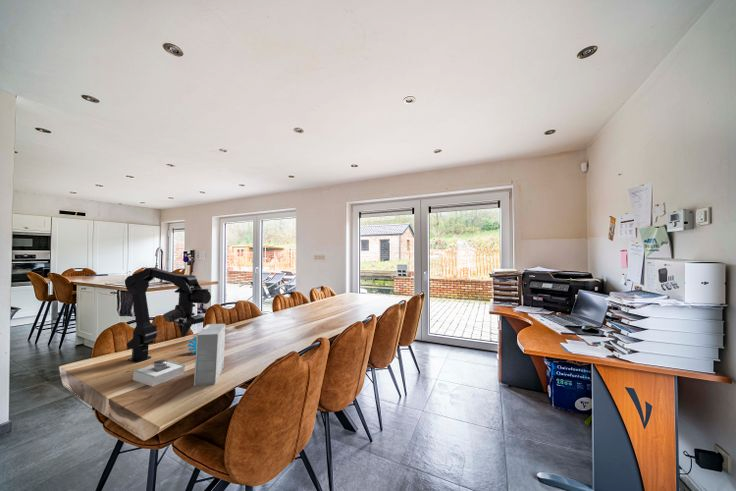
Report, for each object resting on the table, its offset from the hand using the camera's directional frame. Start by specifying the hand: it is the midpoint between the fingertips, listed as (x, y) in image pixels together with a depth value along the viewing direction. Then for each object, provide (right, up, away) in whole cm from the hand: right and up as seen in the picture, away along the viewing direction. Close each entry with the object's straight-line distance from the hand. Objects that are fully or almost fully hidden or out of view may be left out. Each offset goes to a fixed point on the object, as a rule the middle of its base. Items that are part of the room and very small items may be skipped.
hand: (183, 336), depth 124 cm
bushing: (0, -12, -15) cm, 19 cm away
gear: (-1, -13, +13) cm, 18 cm away
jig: (0, -12, -15) cm, 19 cm away
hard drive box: (+19, -13, -12) cm, 26 cm away
